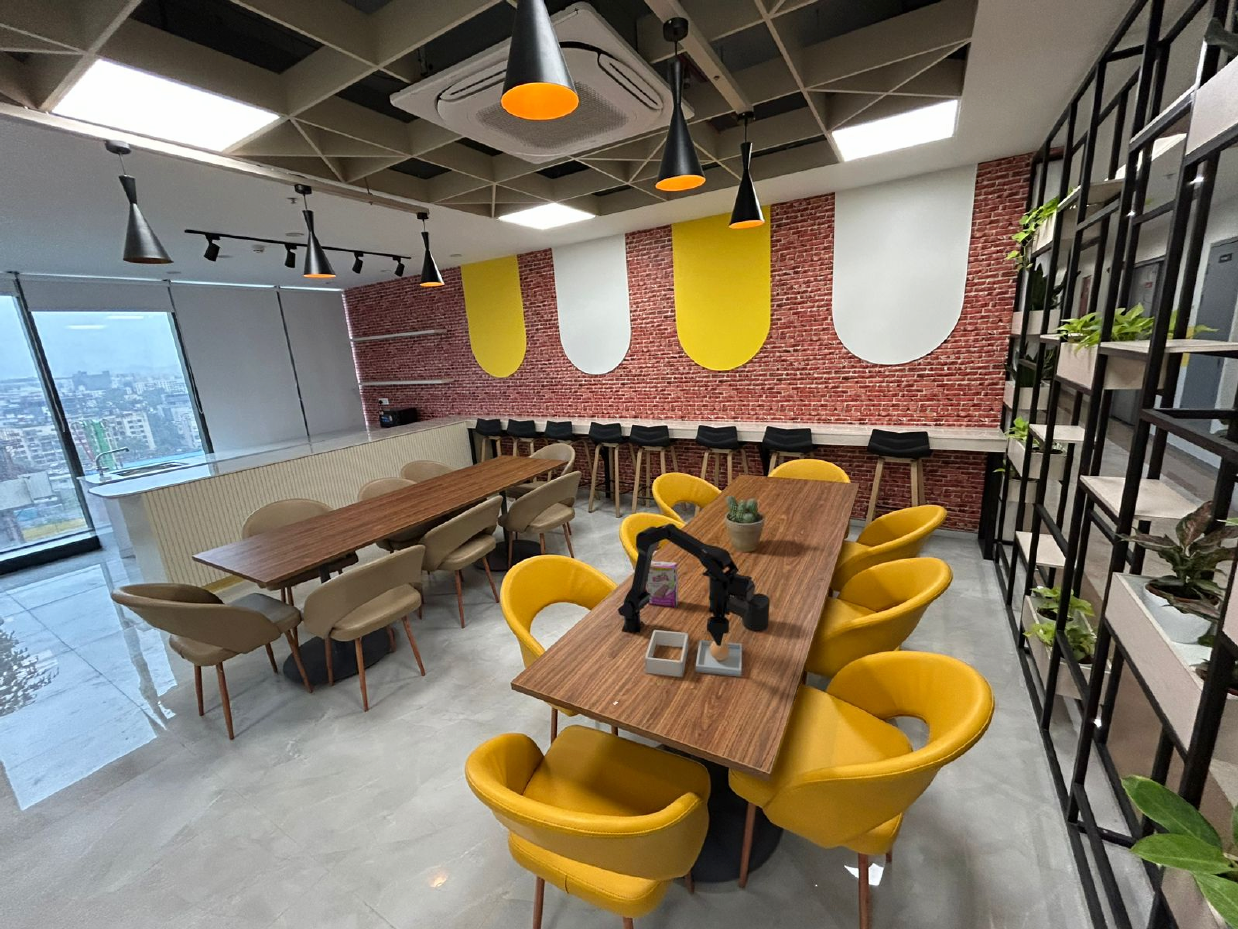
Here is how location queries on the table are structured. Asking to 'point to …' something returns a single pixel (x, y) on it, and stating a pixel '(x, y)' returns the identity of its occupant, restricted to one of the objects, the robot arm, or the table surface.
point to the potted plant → (744, 524)
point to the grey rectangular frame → (663, 664)
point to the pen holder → (757, 613)
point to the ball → (719, 650)
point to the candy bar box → (663, 583)
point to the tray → (721, 667)
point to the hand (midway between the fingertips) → (719, 636)
